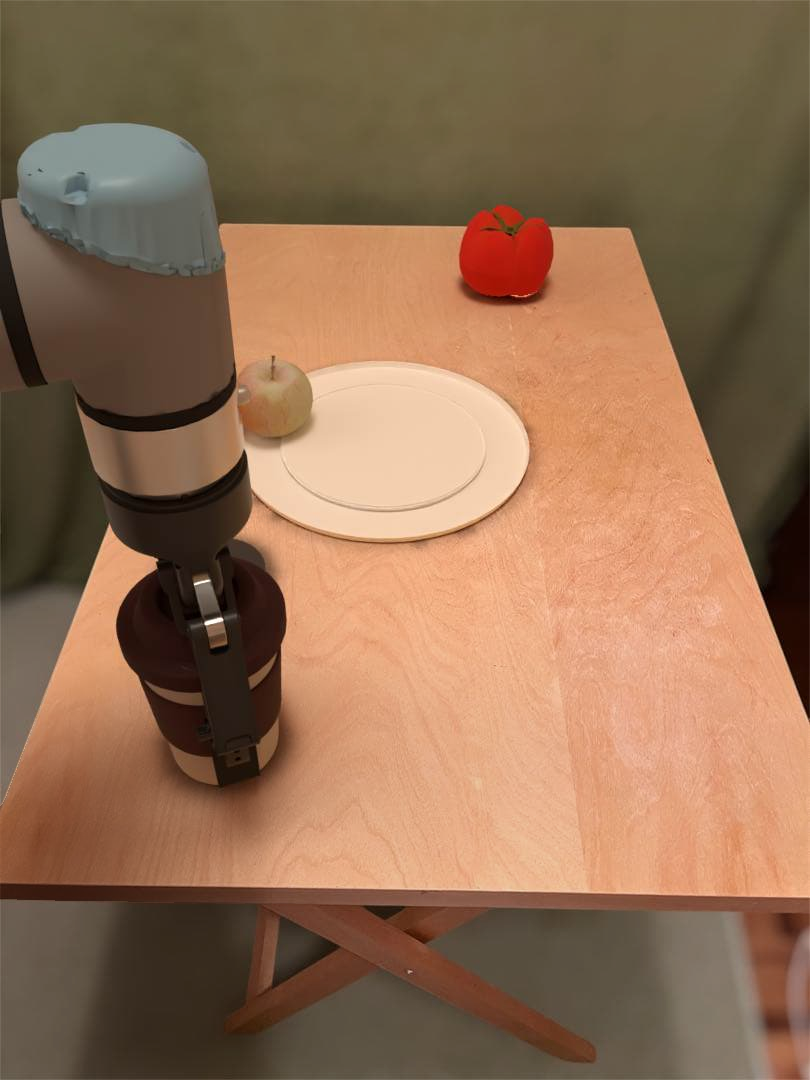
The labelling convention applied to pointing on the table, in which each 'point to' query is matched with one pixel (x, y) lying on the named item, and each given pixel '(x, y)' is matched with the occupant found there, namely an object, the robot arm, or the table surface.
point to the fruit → (275, 397)
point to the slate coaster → (246, 552)
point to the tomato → (505, 253)
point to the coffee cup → (173, 671)
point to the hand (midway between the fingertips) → (222, 722)
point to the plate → (391, 454)
